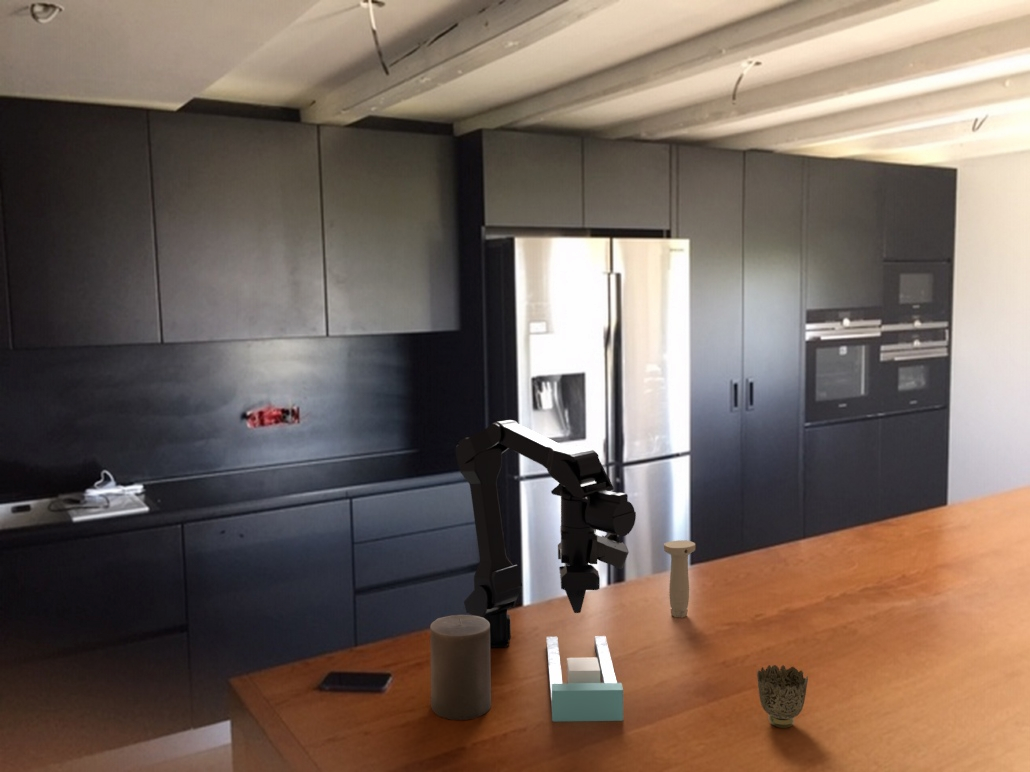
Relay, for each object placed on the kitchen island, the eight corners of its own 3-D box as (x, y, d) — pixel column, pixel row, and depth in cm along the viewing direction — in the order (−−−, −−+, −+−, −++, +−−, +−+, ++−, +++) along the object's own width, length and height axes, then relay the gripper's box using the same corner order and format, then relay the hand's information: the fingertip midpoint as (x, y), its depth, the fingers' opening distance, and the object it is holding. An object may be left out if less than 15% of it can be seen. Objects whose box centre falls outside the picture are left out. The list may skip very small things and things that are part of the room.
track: (552, 721, 138) (552, 690, 137) (546, 646, 166) (546, 621, 166) (623, 720, 138) (623, 689, 137) (605, 646, 166) (605, 620, 166)
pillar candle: (468, 726, 137) (467, 632, 135) (418, 710, 142) (417, 620, 140) (502, 701, 145) (502, 613, 143) (454, 687, 150) (453, 602, 149)
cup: (749, 713, 140) (750, 665, 139) (794, 711, 140) (795, 662, 139) (766, 737, 132) (767, 686, 131) (814, 734, 133) (815, 683, 132)
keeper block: (569, 706, 143) (569, 670, 142) (567, 692, 148) (566, 657, 147) (600, 706, 143) (600, 670, 142) (597, 691, 148) (597, 657, 147)
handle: (699, 617, 180) (699, 545, 178) (671, 622, 178) (672, 549, 176) (685, 609, 184) (686, 539, 183) (659, 613, 182) (659, 542, 180)
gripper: (631, 540, 141) (630, 634, 143) (619, 509, 159) (618, 593, 161) (561, 540, 141) (561, 634, 143) (557, 509, 159) (557, 592, 161)
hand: (577, 612), depth 152 cm, fingers closed
